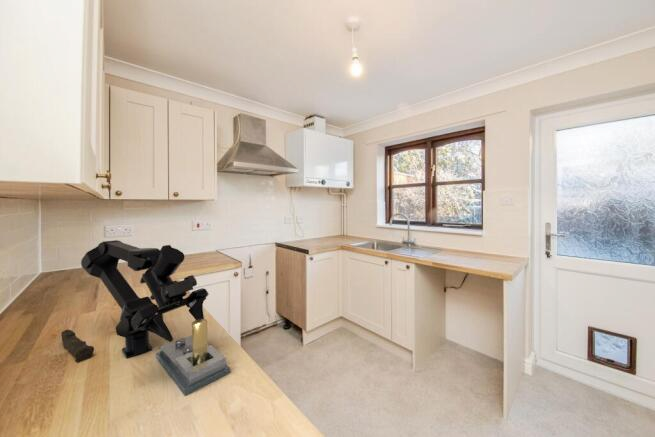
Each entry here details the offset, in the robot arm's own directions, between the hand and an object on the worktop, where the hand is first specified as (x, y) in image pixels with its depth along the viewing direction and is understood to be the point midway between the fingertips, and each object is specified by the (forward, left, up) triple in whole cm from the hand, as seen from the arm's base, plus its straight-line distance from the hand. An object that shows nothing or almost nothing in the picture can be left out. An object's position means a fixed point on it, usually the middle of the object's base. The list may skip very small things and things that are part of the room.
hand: (188, 332), depth 67 cm
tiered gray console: (-2, +1, -10) cm, 11 cm away
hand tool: (-36, -20, -11) cm, 42 cm away
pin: (+4, +1, -9) cm, 10 cm away
